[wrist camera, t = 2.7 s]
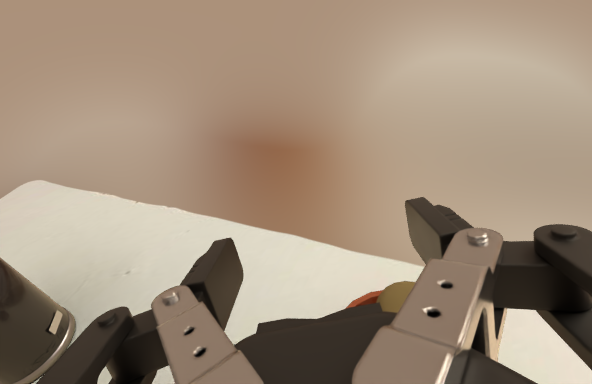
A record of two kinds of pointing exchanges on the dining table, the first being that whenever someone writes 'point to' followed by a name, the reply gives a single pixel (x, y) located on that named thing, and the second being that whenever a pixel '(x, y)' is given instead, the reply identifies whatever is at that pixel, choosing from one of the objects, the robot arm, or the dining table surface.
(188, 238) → the dining table surface
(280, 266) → the dining table surface
